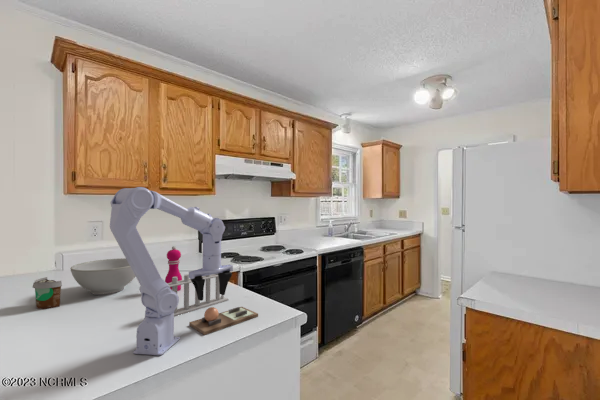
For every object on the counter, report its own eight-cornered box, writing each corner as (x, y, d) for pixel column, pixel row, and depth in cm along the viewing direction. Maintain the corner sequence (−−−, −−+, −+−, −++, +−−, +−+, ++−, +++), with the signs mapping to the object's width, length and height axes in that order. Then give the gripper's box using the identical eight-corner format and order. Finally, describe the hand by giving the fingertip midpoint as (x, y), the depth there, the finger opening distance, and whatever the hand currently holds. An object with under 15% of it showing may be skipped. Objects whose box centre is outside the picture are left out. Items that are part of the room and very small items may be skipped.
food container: (25, 306, 109) (26, 280, 109) (46, 302, 114) (46, 276, 114) (41, 312, 103) (41, 284, 103) (61, 307, 109) (62, 280, 109)
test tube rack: (167, 319, 98) (167, 280, 98) (161, 316, 101) (161, 278, 101) (228, 300, 117) (228, 268, 117) (222, 298, 120) (222, 266, 120)
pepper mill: (164, 288, 132) (165, 245, 133) (181, 287, 135) (182, 244, 136) (164, 293, 126) (165, 247, 126) (182, 291, 129) (182, 246, 129)
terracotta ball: (215, 324, 90) (215, 310, 90) (201, 323, 91) (201, 309, 91) (220, 319, 94) (220, 305, 95) (207, 318, 95) (207, 305, 95)
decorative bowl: (119, 280, 148) (119, 256, 148) (154, 286, 136) (154, 261, 136) (56, 294, 124) (57, 266, 124) (93, 304, 112) (93, 273, 112)
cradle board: (204, 335, 85) (204, 327, 85) (189, 325, 92) (189, 318, 92) (258, 316, 100) (258, 310, 100) (241, 309, 107) (241, 303, 107)
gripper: (225, 250, 101) (224, 289, 101) (184, 256, 90) (184, 299, 90) (236, 253, 96) (236, 293, 96) (194, 259, 86) (194, 304, 85)
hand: (211, 296), depth 93 cm, fingers open, 7 cm apart
